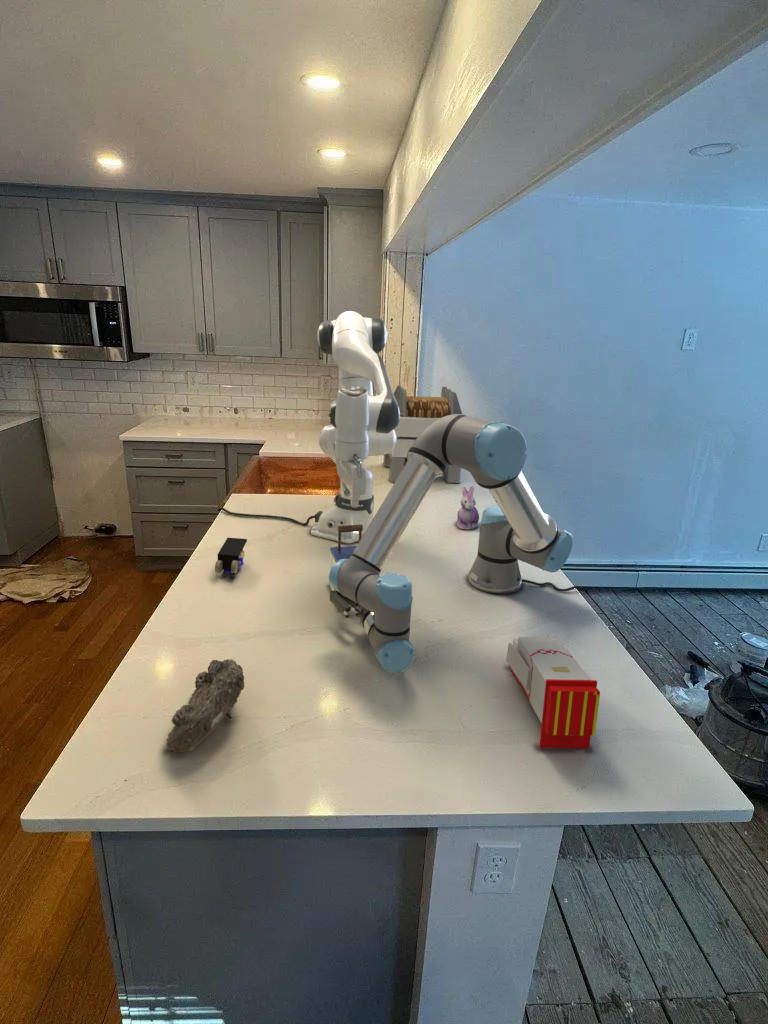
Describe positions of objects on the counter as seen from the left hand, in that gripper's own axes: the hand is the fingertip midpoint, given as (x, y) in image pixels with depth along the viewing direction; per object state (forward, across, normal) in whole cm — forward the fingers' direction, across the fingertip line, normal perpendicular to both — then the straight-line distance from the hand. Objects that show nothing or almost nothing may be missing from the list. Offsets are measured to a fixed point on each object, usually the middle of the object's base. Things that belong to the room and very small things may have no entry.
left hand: (350, 500), depth 151 cm
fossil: (+26, -47, +37) cm, 65 cm away
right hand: (+19, -9, 0) cm, 21 cm away
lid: (+15, -5, 0) cm, 16 cm away
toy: (+26, -57, -28) cm, 69 cm away
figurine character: (+26, +18, +31) cm, 44 cm away
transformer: (+26, +109, -60) cm, 127 cm away
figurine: (+26, +39, -54) cm, 72 cm away
